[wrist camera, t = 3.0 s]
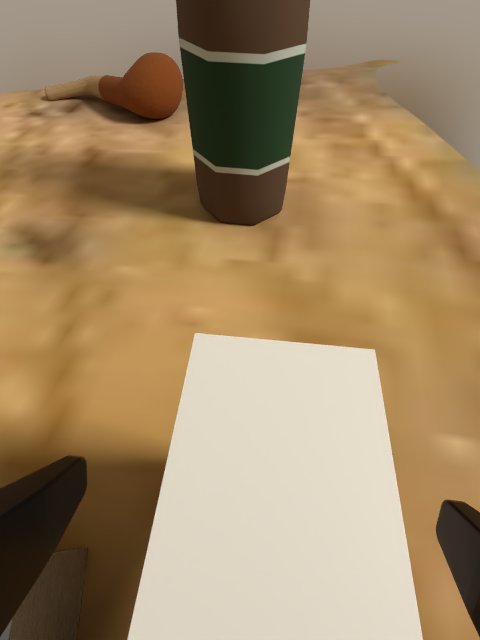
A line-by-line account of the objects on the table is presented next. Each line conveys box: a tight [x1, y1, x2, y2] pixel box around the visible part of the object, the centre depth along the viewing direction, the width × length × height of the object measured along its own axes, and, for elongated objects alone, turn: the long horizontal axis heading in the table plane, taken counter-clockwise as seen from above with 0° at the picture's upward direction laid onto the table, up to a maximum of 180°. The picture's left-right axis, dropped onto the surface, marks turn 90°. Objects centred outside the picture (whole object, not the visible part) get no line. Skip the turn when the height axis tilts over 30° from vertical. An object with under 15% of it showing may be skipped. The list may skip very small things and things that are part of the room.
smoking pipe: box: [45, 53, 183, 119], centre depth 34 cm, size 7×18×6 cm, turn 80°
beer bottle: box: [176, 0, 310, 225], centre depth 16 cm, size 8×8×24 cm
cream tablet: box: [127, 333, 423, 640], centre depth 8 cm, size 4×2×12 cm, turn 174°
